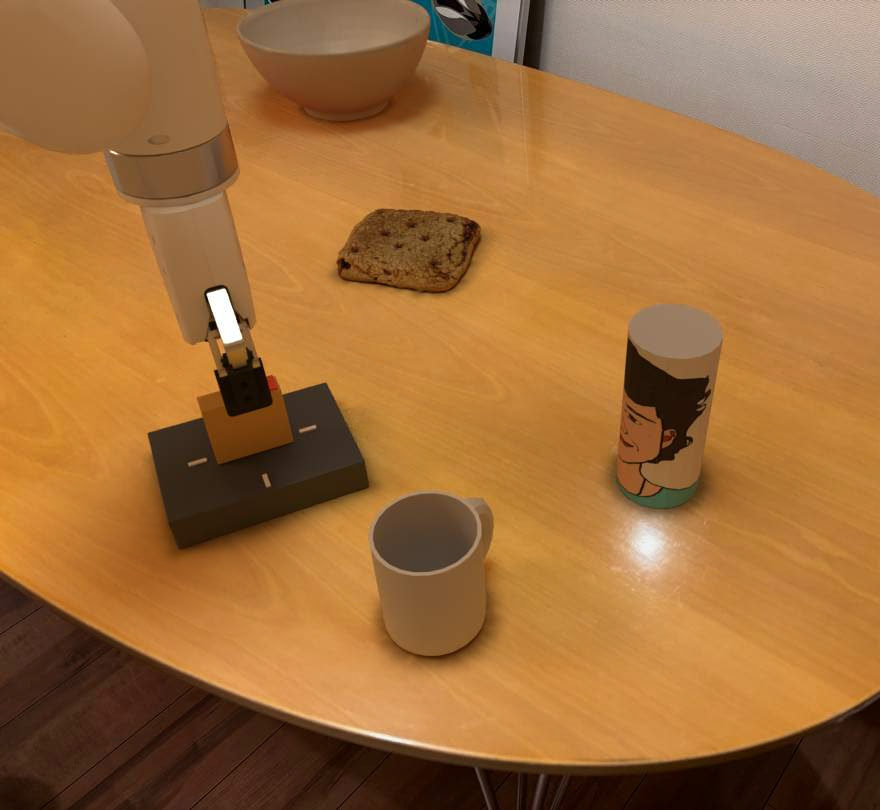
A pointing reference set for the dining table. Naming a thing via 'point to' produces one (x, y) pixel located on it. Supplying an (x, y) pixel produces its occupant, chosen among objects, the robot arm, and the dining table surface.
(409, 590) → the cup
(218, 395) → the red-cornered brown block
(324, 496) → the plate
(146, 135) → the robot arm
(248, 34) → the decorative bowl
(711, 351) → the printed cylinder
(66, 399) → the dining table surface
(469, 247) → the pastry
